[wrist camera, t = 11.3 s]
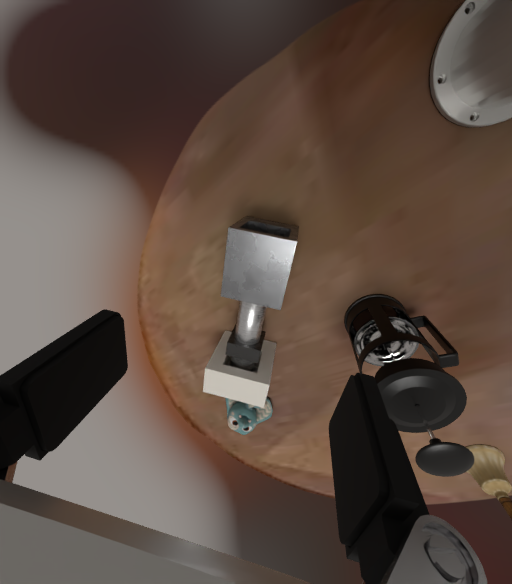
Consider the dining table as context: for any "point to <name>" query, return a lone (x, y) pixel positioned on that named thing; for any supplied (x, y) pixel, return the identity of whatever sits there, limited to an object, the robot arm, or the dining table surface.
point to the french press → (412, 379)
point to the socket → (239, 375)
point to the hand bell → (491, 473)
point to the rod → (247, 336)
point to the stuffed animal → (246, 415)
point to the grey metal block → (258, 261)
